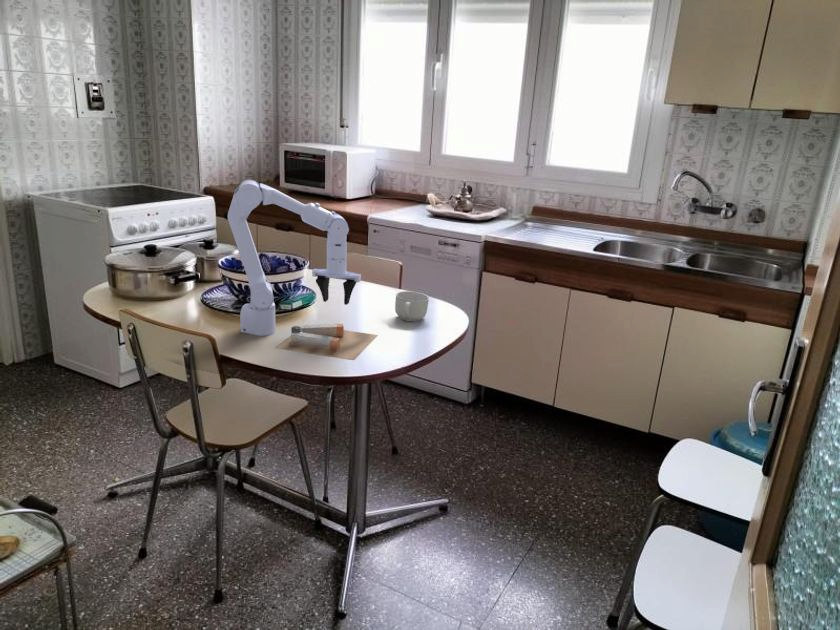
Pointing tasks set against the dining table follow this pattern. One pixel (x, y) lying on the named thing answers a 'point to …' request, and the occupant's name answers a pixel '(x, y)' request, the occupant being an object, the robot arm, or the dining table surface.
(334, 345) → the tongs fixed half
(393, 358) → the dining table surface
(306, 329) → the tong arm
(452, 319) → the dining table surface
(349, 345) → the board
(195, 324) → the dining table surface
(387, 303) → the dining table surface
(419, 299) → the teacup
